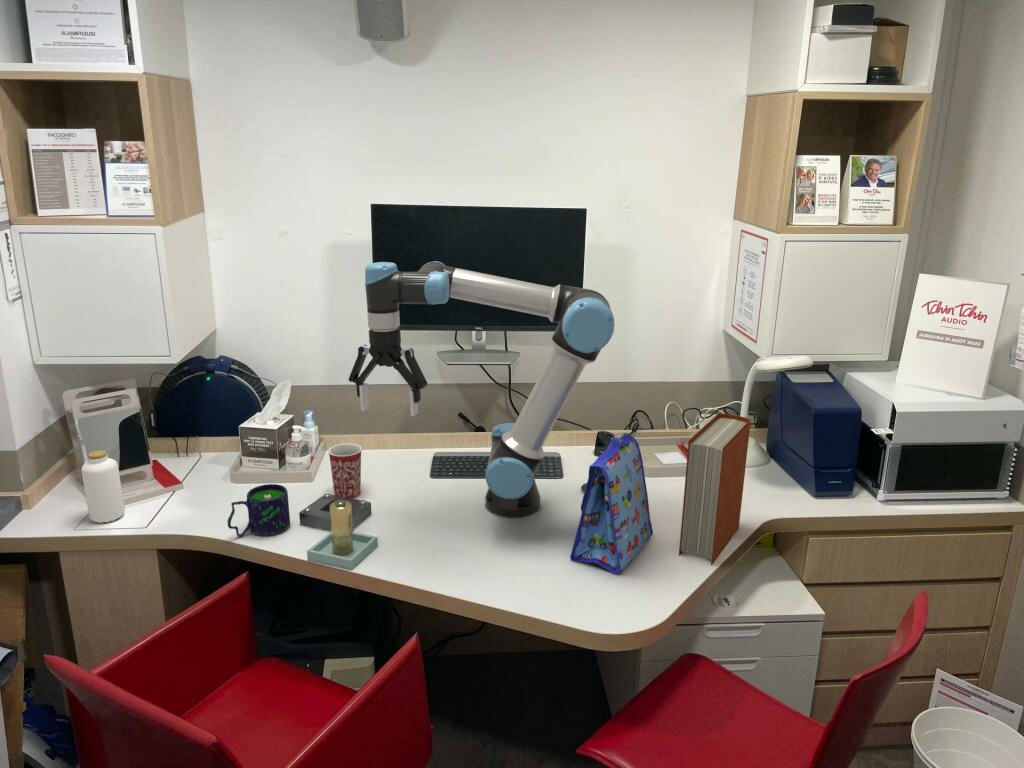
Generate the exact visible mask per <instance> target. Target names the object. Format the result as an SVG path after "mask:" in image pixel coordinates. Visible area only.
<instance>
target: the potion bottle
mask: <svg viewBox="0 0 1024 768" xmlns="http://www.w3.org/2000/svg"><path fill="white" fill-rule="evenodd" d="M119 470H120V469H119V465H118V462H117V460H115V459H114V458H110V457H108V454H107V451H106V450H94V451H91V452H89V453H88V461H86V462H85V463H84V464H83V465H82V467H81V477H82V482H83V488H84V493H85V499H86V500H85V501H86V506H87V511H88V518H89V519H90V520H91V521H92V522H94V523H97V522H98V523H99V524H104V523H103V522H106V523H111V522H114V521H117V520H119V519H120V518H122V517H123V515H125V513H126V510H125V501H124V497H123V489H122V483H121V477H120V476H121V475H120V471H119ZM118 518H119V519H118ZM116 519H117V520H116ZM110 521H111V522H110Z"/></svg>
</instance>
